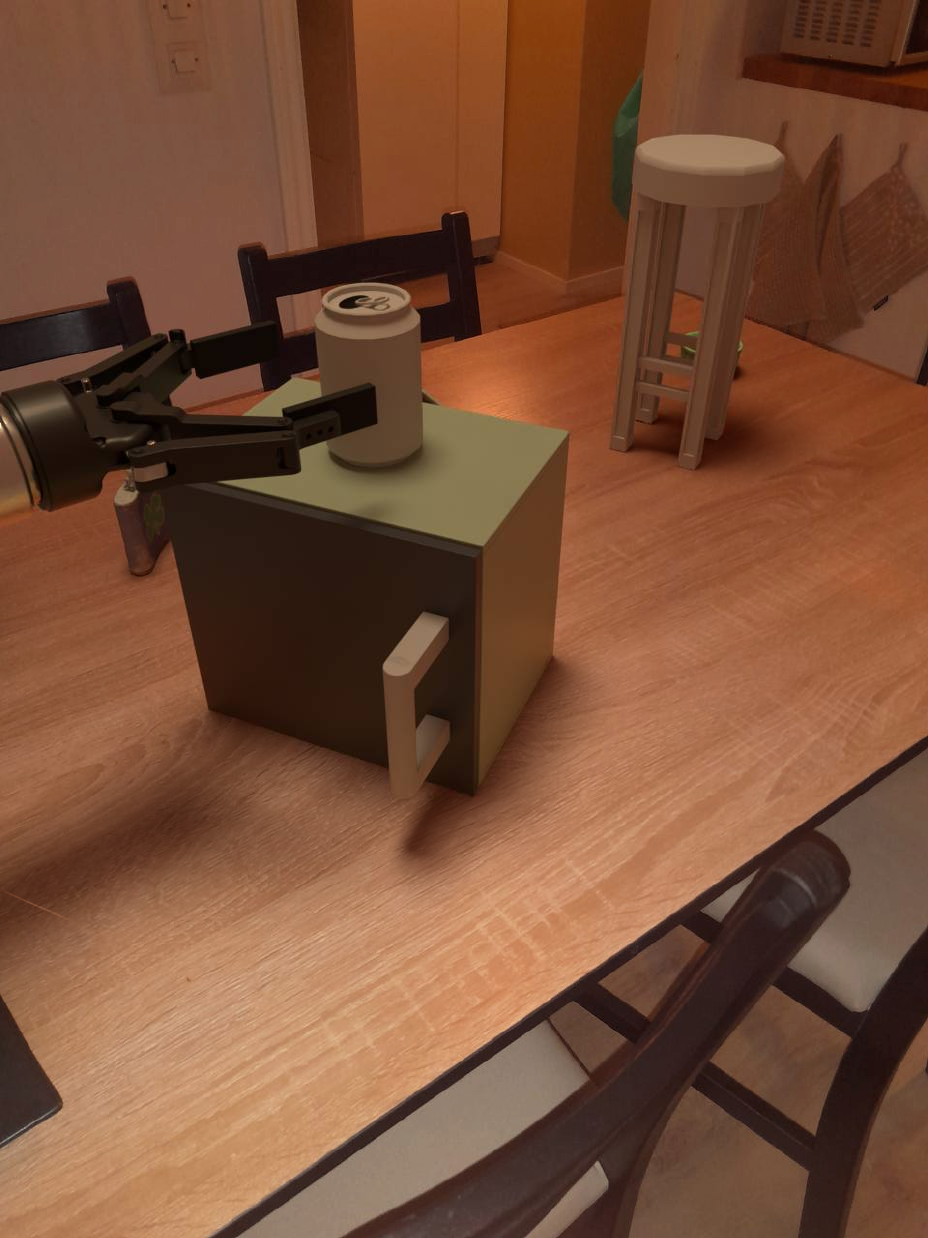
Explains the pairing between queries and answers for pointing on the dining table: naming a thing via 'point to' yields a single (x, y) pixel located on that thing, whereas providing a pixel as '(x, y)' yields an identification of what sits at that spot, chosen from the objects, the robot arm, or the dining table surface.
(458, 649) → the cabinet door
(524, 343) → the dining table surface
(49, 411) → the robot arm
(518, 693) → the olive green cabinet
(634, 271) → the stool
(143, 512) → the flask
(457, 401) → the dining table surface
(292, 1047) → the dining table surface
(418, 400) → the can
